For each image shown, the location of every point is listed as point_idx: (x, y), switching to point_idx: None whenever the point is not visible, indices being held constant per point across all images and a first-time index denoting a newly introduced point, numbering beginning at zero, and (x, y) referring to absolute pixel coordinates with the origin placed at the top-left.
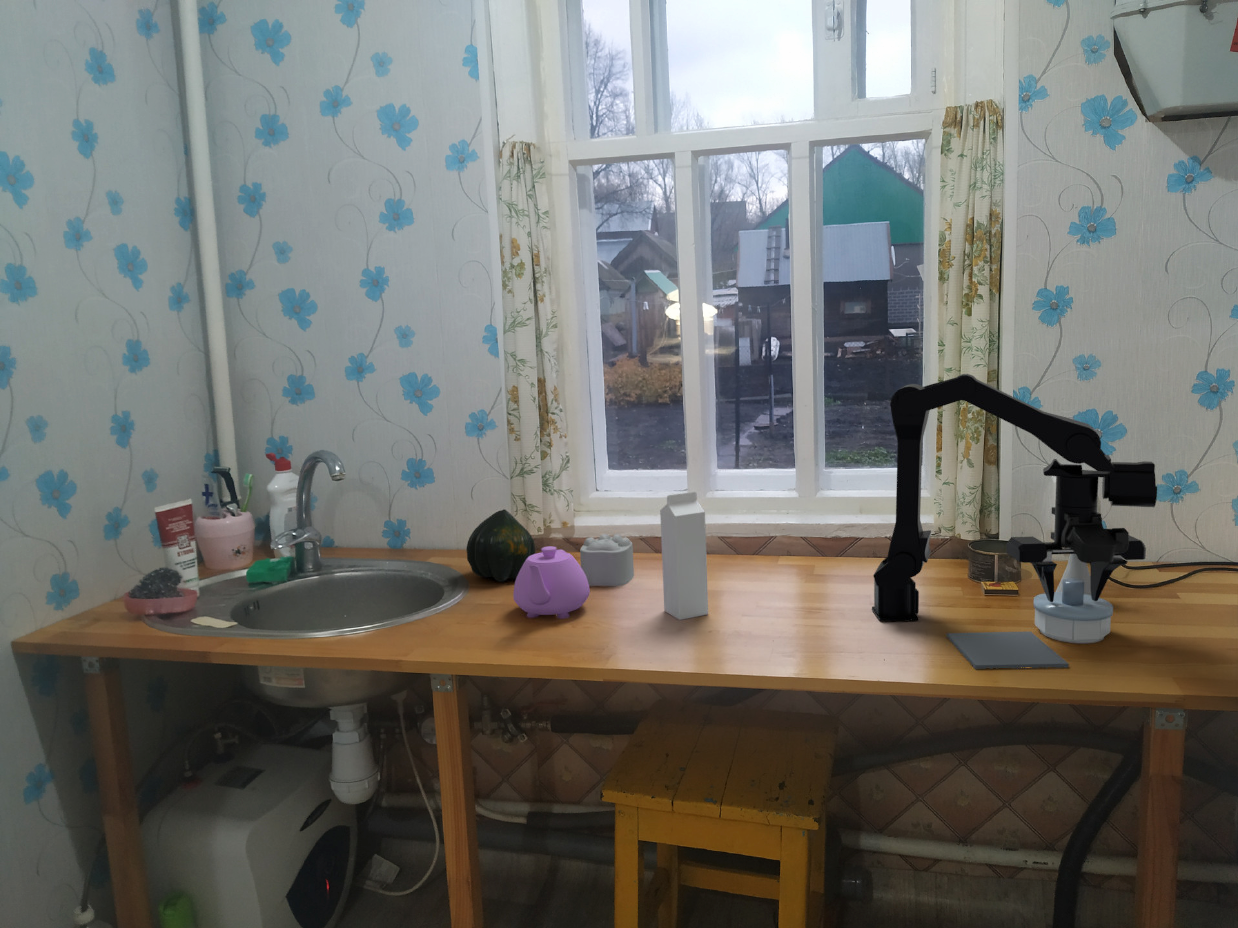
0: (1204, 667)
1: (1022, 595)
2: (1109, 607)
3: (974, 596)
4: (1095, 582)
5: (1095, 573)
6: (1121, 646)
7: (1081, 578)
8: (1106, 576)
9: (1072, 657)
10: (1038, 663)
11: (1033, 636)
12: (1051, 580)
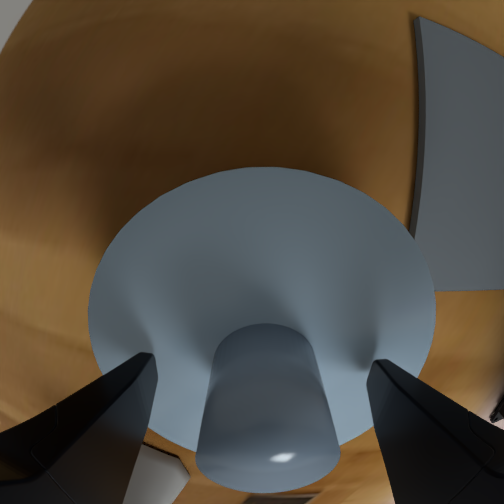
0: (48, 17)
1: (245, 492)
2: (110, 275)
3: (342, 487)
4: (117, 436)
5: (99, 488)
6: (154, 152)
7: (128, 499)
8: (35, 431)
9: (374, 76)
10: (482, 48)
11: (420, 246)
12: (460, 429)
